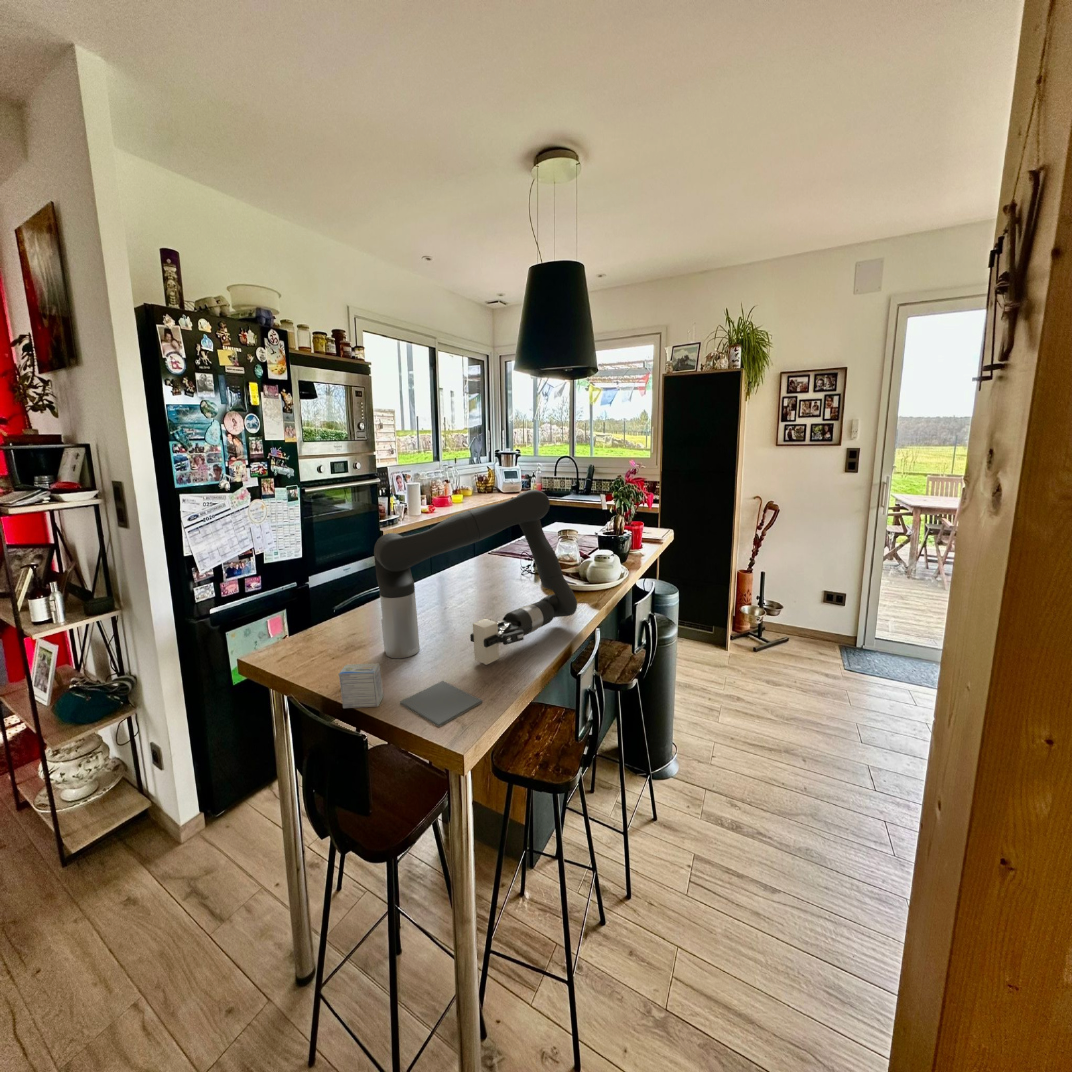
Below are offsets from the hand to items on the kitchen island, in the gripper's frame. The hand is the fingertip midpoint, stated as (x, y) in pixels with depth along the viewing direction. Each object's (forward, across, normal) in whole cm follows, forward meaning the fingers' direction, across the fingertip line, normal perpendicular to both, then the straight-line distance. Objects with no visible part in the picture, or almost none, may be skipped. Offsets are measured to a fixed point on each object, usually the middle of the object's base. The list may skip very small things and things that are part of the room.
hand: (478, 640), depth 124 cm
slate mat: (+17, +6, +7) cm, 20 cm away
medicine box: (+28, -8, +8) cm, 30 cm away
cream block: (-3, 0, +6) cm, 7 cm away
